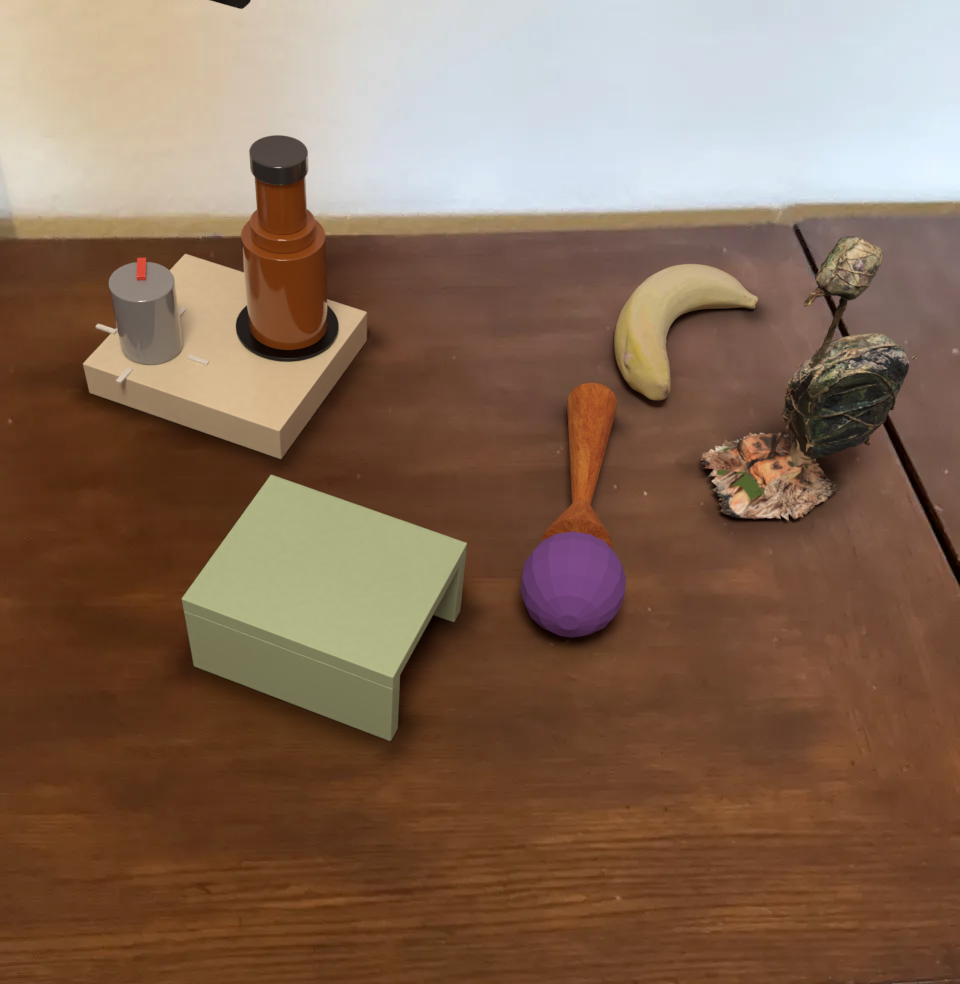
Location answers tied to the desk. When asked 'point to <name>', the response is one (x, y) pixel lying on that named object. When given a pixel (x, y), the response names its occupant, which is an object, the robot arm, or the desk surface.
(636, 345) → the fruit
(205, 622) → the shelf
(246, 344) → the burner
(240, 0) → the robot arm
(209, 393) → the hob
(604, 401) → the kendama
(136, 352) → the hob knob
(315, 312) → the spice bottle
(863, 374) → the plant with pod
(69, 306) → the desk surface
